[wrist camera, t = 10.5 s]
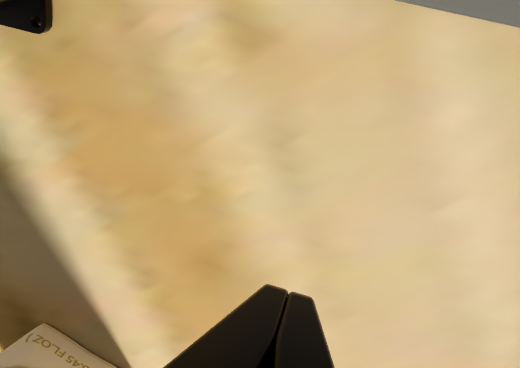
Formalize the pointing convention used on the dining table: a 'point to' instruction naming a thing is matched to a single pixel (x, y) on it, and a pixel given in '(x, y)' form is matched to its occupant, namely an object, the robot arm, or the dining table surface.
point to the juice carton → (49, 352)
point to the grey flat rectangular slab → (477, 9)
